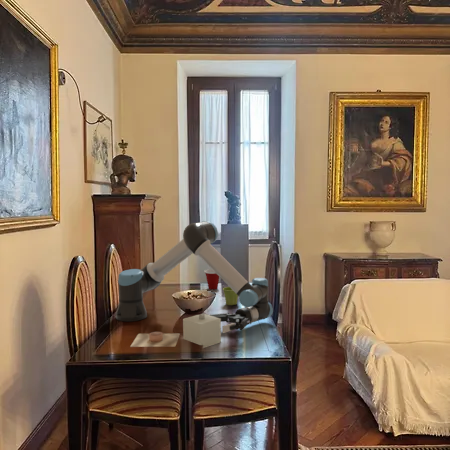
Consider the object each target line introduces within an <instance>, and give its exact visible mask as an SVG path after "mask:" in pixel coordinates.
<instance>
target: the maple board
mask: <svg viewBox="0 0 450 450" xmlns="http://www.w3.org/2000/svg"><path fill="white" fill-rule="evenodd" d="M149 334H150V333H138V334H137V335H136V337H135V338H134V340H133V342H132V343H131V345H130V346H129V347H130V348H140V347H142V348H144V347H145V348H146V347H147V348H153V347H154V348H159V347H160V348H162V347H163V348H164V347H167V348H168V347H172V348H173V347H174V348H175V347H176V345H177V344H178V340H179V338H180V335H181V333H163V340H162V341H160V342H151V341H149Z"/></svg>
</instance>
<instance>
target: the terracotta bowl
mask: <svg viewBox="0 0 450 450" xmlns="http://www.w3.org/2000/svg"><path fill="white" fill-rule="evenodd" d="M148 334H149V341H151V342H160V341H162V340H163V334H164V332H162V331H152V332H149V333H148Z"/></svg>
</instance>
